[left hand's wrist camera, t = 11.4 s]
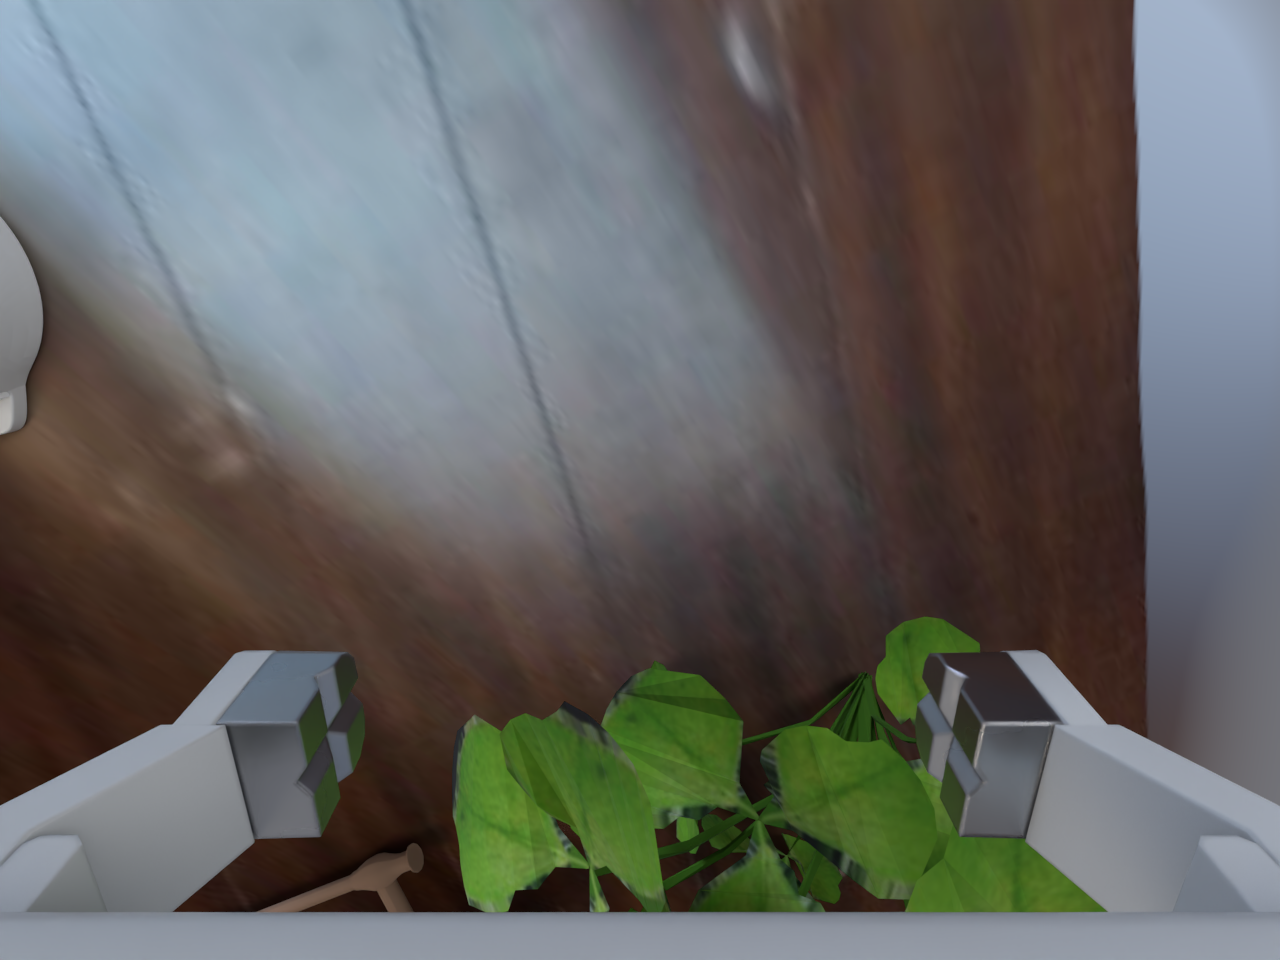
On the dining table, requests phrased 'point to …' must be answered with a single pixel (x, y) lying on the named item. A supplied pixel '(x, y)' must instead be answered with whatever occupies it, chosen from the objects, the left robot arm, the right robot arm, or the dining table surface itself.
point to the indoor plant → (736, 801)
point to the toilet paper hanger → (365, 882)
